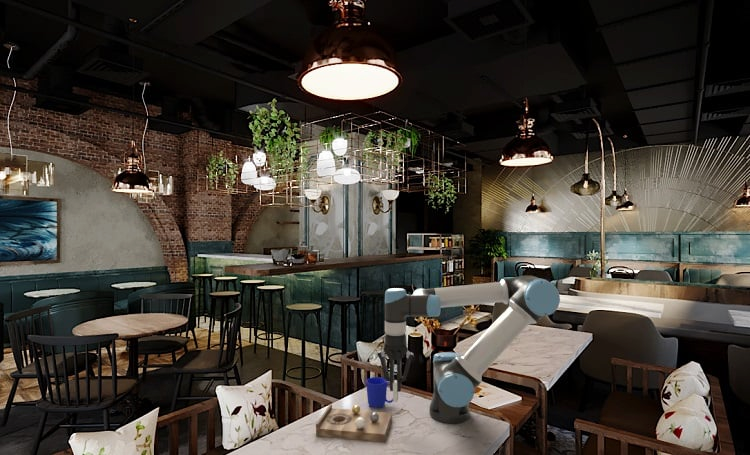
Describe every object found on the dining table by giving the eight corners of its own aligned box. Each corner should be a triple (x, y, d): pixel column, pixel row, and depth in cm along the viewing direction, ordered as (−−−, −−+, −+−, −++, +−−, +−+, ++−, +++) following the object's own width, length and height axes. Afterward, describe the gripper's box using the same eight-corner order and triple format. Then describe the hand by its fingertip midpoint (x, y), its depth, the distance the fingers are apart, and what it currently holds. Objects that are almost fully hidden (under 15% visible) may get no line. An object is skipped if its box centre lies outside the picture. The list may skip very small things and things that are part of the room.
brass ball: (360, 412, 150) (360, 404, 150) (359, 415, 147) (359, 407, 147) (353, 411, 151) (353, 403, 151) (351, 415, 148) (351, 407, 148)
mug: (394, 411, 156) (394, 385, 156) (364, 409, 158) (364, 383, 158) (397, 402, 164) (397, 378, 164) (368, 400, 166) (368, 376, 166)
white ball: (366, 426, 139) (366, 415, 139) (364, 430, 136) (363, 420, 136) (356, 425, 140) (356, 415, 140) (354, 430, 136) (353, 419, 137)
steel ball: (379, 420, 143) (379, 411, 143) (378, 424, 140) (378, 415, 140) (371, 419, 144) (370, 410, 144) (369, 423, 141) (369, 414, 141)
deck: (391, 419, 149) (391, 408, 149) (384, 441, 133) (384, 429, 133) (330, 414, 154) (330, 404, 154) (316, 435, 138) (315, 424, 138)
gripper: (414, 331, 143) (415, 397, 143) (379, 329, 146) (379, 394, 146) (412, 336, 136) (412, 406, 136) (375, 334, 139) (375, 403, 138)
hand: (395, 400), depth 141 cm, fingers closed
